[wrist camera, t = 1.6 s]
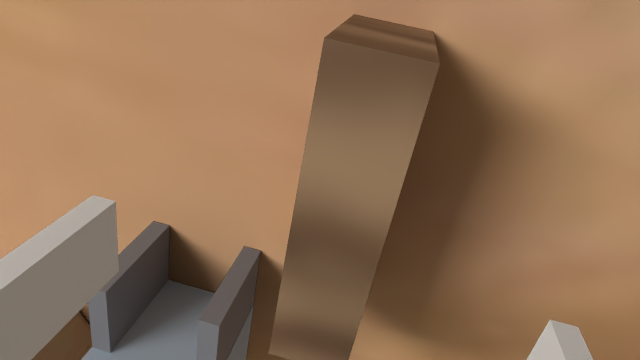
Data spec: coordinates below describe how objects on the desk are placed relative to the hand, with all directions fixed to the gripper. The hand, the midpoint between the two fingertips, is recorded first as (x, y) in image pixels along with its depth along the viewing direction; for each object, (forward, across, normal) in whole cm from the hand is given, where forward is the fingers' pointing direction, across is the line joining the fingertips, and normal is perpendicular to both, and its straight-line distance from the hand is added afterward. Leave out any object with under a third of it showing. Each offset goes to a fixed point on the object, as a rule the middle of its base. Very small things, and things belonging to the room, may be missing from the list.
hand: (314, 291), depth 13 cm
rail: (+13, 0, -2) cm, 13 cm away
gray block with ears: (+13, -9, -14) cm, 22 cm away
